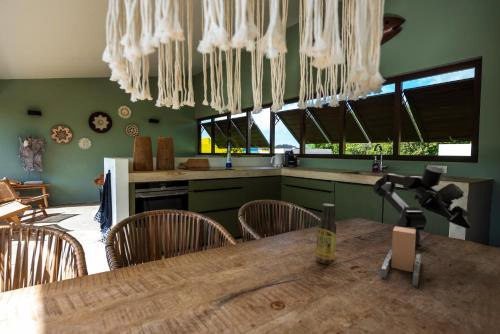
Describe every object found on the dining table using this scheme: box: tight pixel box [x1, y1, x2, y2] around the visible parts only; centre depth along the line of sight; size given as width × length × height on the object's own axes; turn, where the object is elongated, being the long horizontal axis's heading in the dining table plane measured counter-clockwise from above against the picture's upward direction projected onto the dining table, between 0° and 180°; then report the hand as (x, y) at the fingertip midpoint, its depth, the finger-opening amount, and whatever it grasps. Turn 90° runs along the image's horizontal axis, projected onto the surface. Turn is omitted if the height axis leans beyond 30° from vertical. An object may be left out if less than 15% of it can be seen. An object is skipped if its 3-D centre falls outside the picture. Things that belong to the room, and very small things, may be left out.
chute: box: [380, 248, 422, 288], centre depth 86 cm, size 20×9×4 cm, turn 147°
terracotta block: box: [390, 225, 416, 273], centre depth 89 cm, size 6×6×12 cm
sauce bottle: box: [315, 203, 337, 265], centre depth 95 cm, size 6×6×20 cm
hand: (460, 223), depth 90 cm, fingers open, 9 cm apart
